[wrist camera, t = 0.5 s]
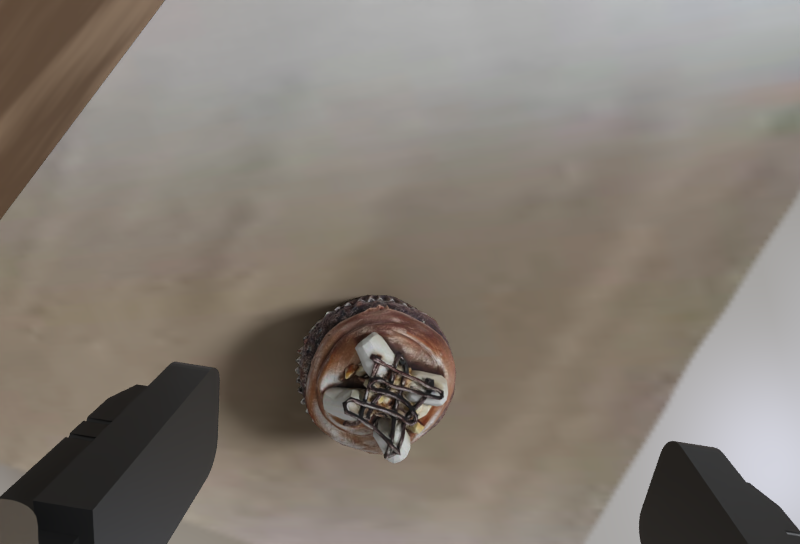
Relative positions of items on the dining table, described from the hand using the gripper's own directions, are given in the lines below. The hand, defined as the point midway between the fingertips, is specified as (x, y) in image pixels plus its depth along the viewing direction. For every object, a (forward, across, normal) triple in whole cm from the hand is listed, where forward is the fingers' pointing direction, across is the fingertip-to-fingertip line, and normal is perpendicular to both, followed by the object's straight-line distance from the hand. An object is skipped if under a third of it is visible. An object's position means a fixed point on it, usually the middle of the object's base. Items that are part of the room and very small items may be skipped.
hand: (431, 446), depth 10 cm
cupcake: (+26, +2, +11) cm, 28 cm away
